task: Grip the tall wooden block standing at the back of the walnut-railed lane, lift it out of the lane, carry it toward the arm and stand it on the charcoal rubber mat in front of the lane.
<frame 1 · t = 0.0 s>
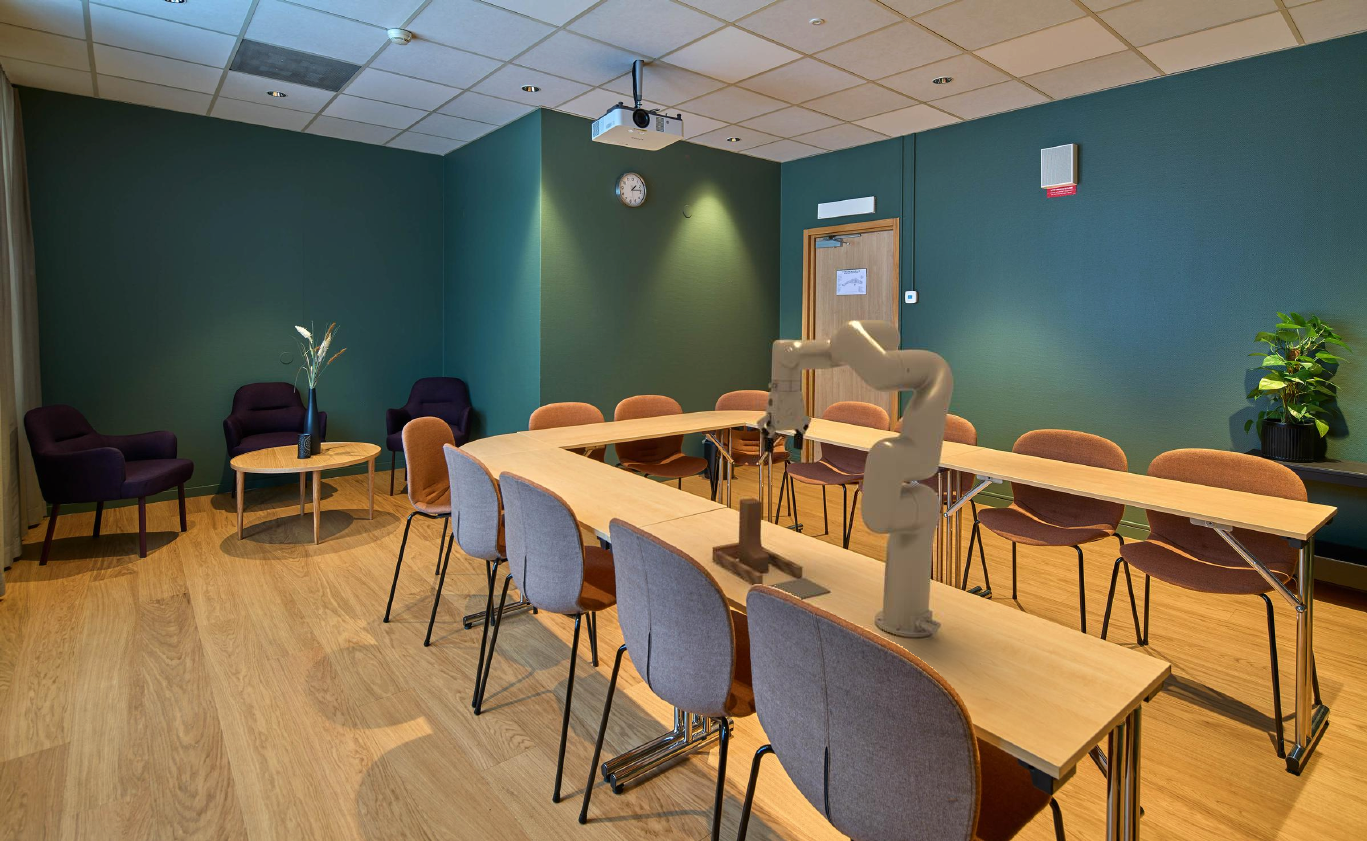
hand: (783, 450, 189), 31 cm above the table, tool pointing down, fingers open, 9 cm apart
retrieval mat: (794, 590, 173), on the table
wooden block: (753, 568, 189), on the table
lane: (757, 570, 187), on the table
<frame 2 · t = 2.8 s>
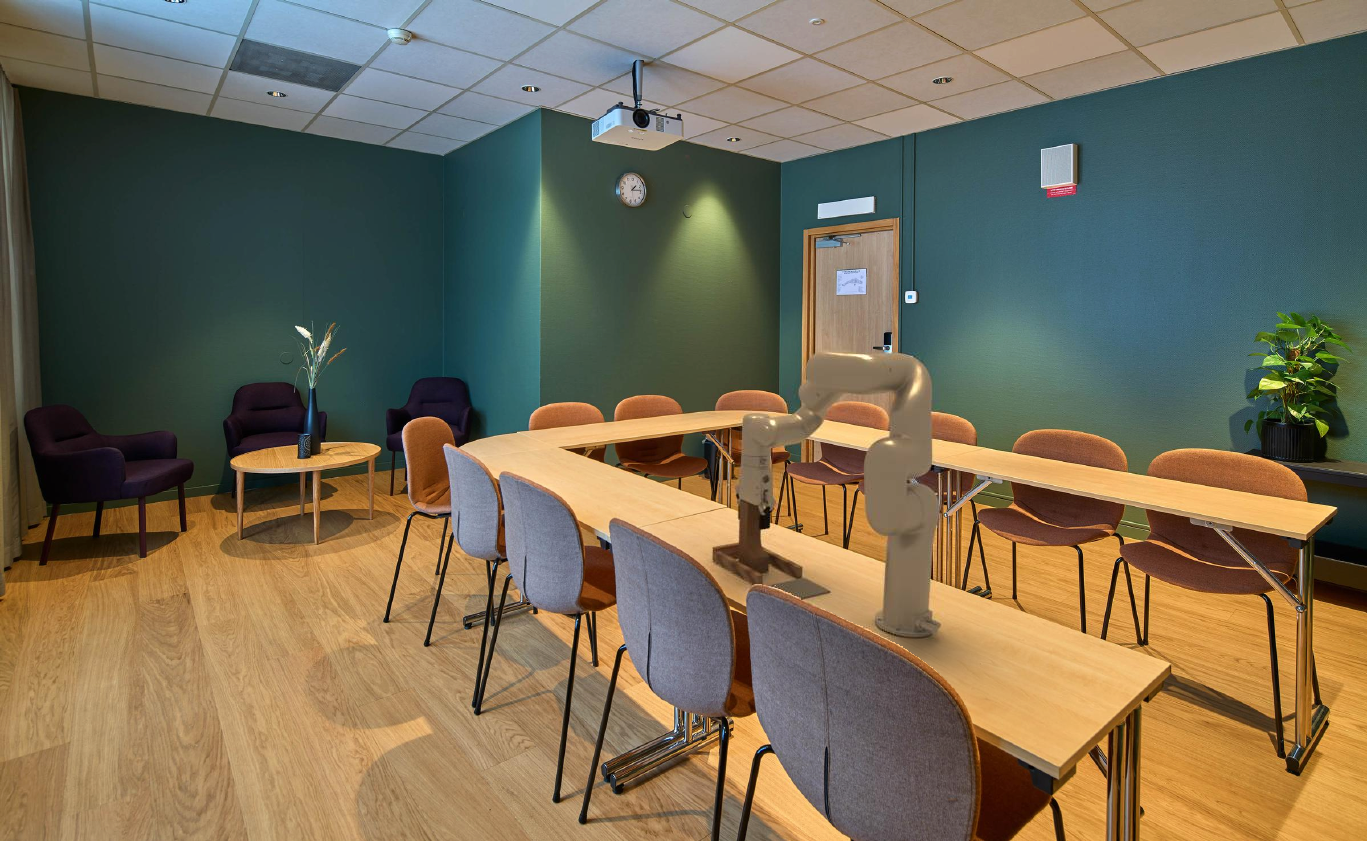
hand: (753, 523, 187), 12 cm above the table, tool pointing down, fingers open, 9 cm apart
nothing on the table moved.
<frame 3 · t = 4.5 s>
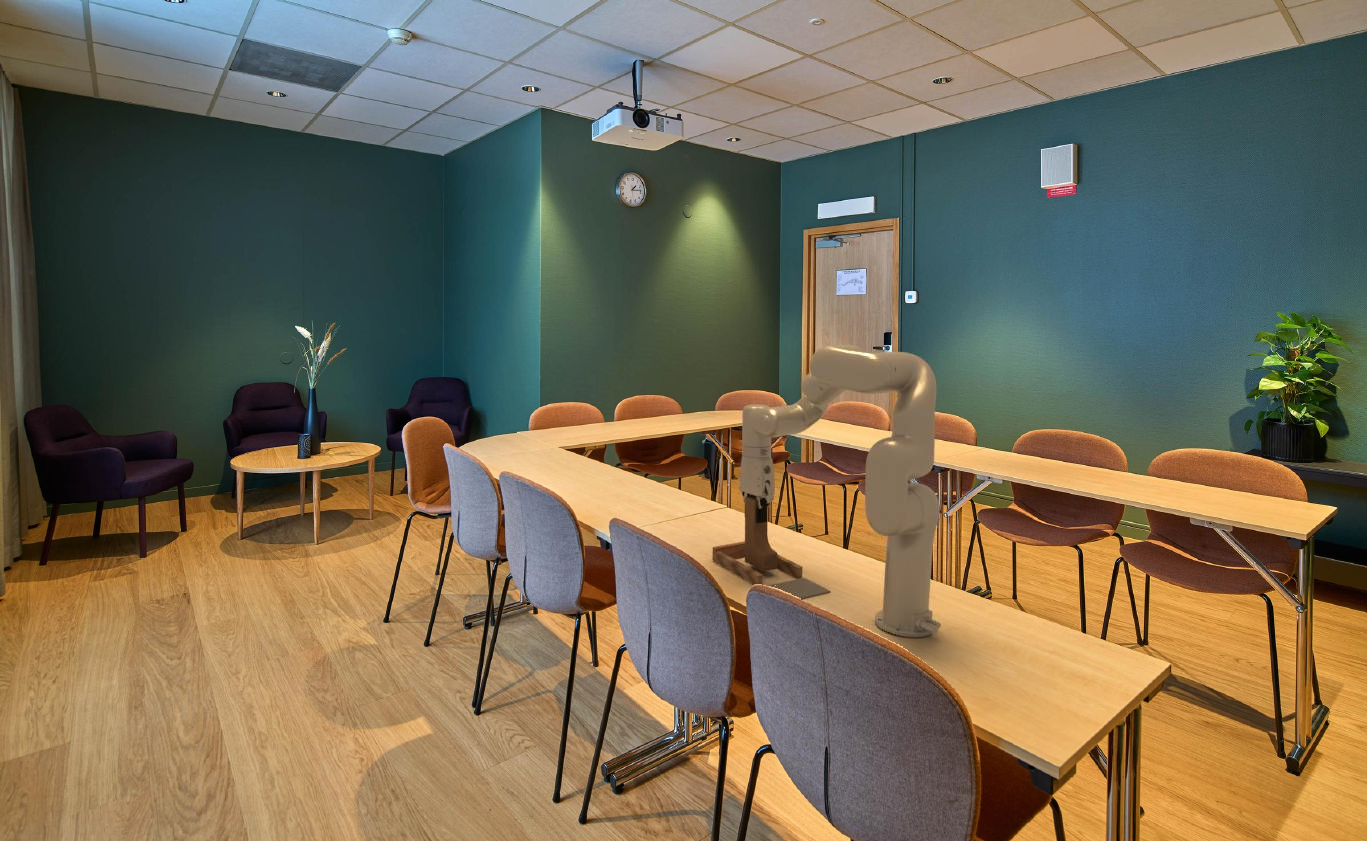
hand: (755, 519, 187), 14 cm above the table, tool pointing down, fingers closed on wooden block, 4 cm apart
wooden block: (760, 566, 186), point 1 cm above the table, touching gripper
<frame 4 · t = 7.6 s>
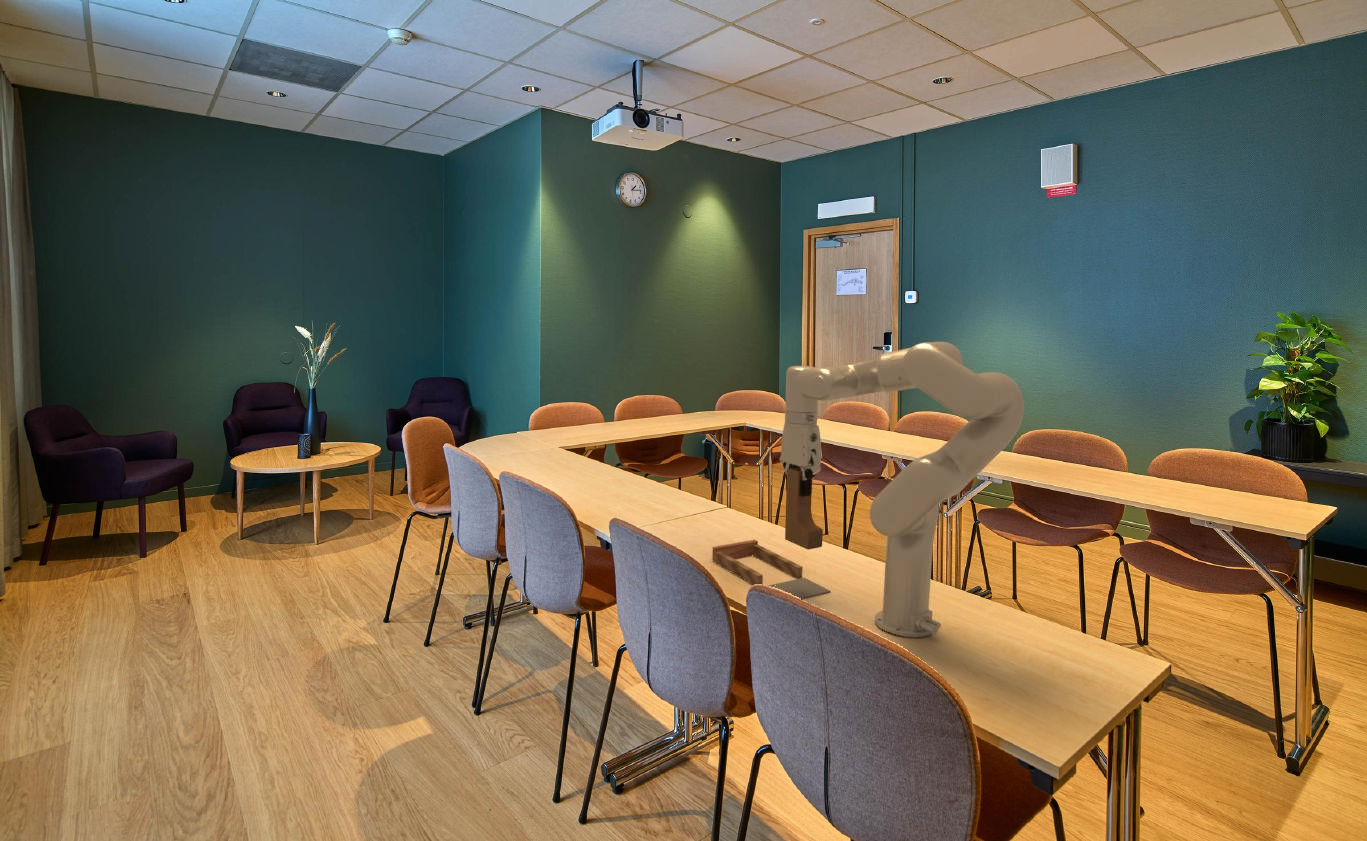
hand: (798, 492, 170), 25 cm above the table, tool pointing down, fingers closed on wooden block, 4 cm apart
wooden block: (803, 544, 170), point 12 cm above the table, touching gripper
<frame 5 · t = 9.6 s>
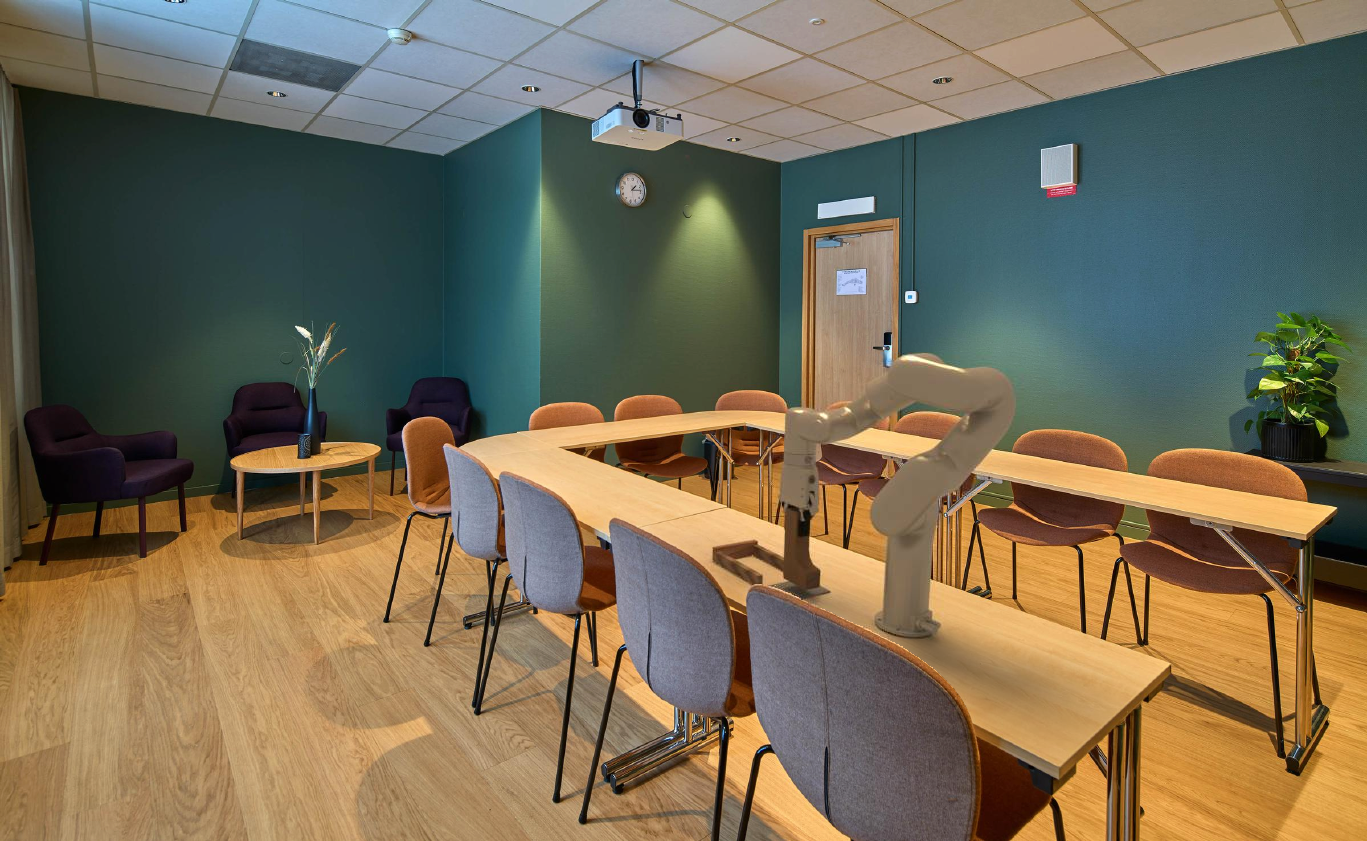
hand: (796, 532, 171), 15 cm above the table, tool pointing down, fingers closed on wooden block, 4 cm apart
wooden block: (801, 583, 171), point 3 cm above the table, touching gripper
when the fingers open (13 cm above the table, at t = 10.8 s): wooden block stays where it is, resting on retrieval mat.
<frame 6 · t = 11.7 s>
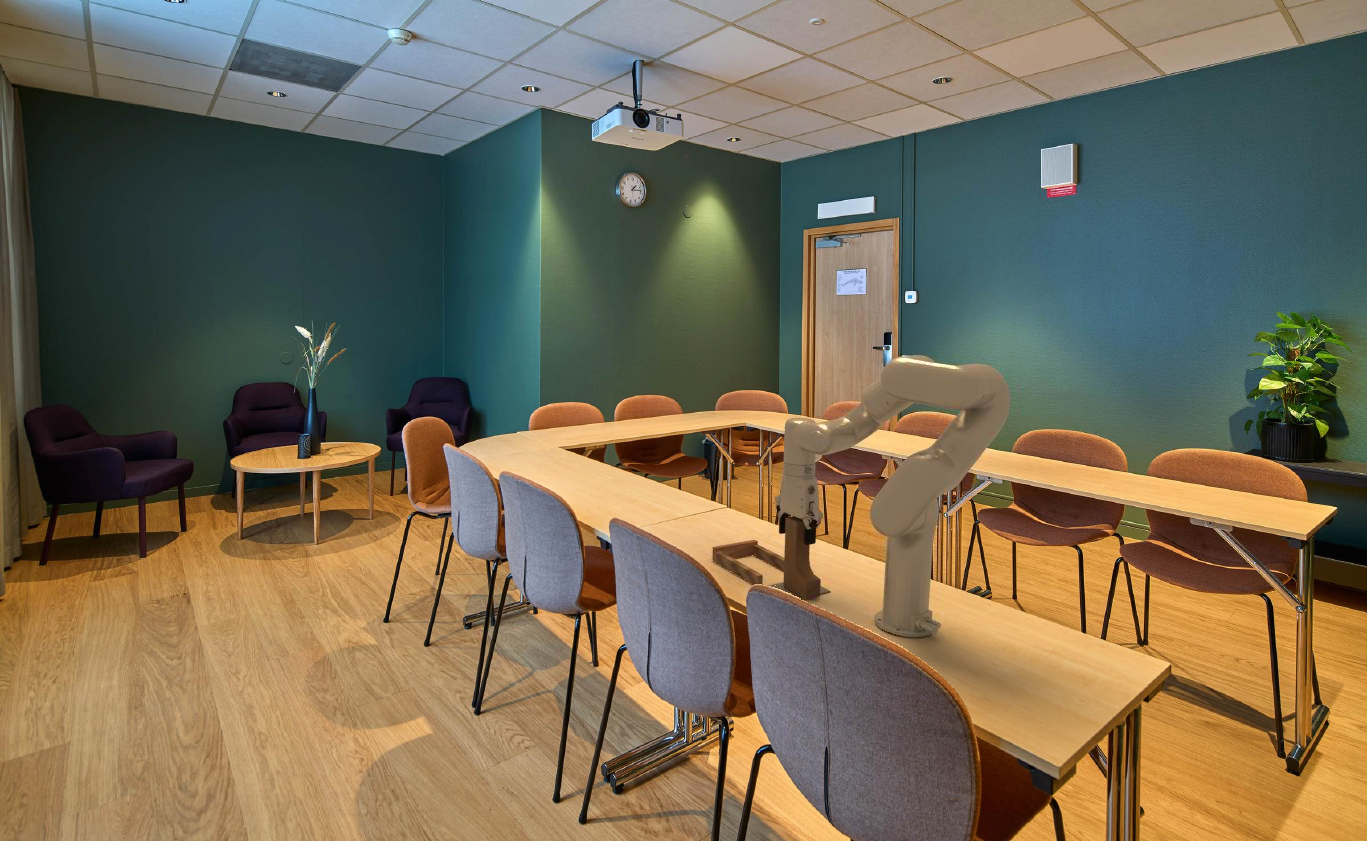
hand: (796, 538, 172), 13 cm above the table, tool pointing down, fingers open, 9 cm apart
wooden block: (801, 593, 172), resting on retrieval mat
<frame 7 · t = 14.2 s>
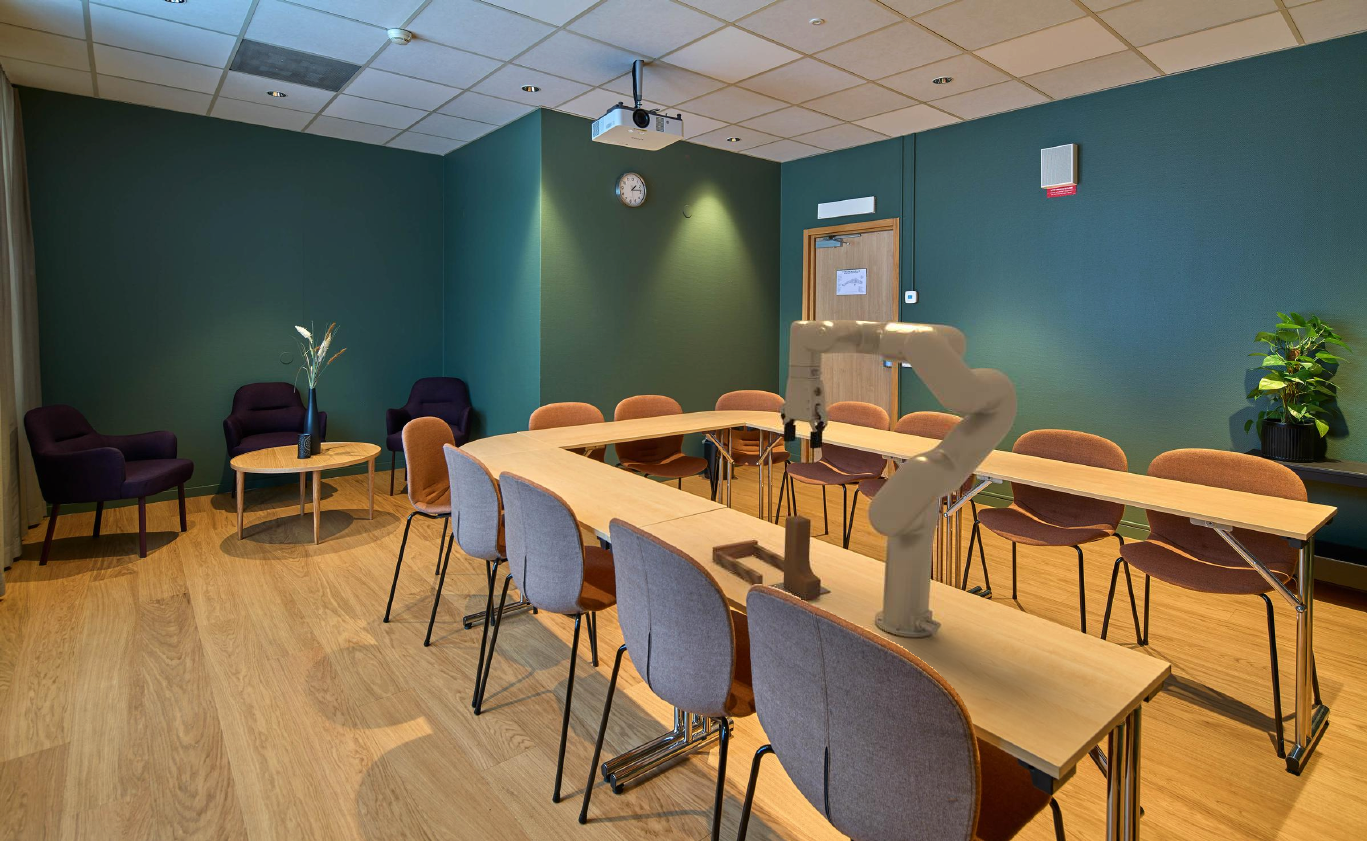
hand: (802, 444, 169), 36 cm above the table, tool pointing down, fingers open, 9 cm apart
nothing on the table moved.
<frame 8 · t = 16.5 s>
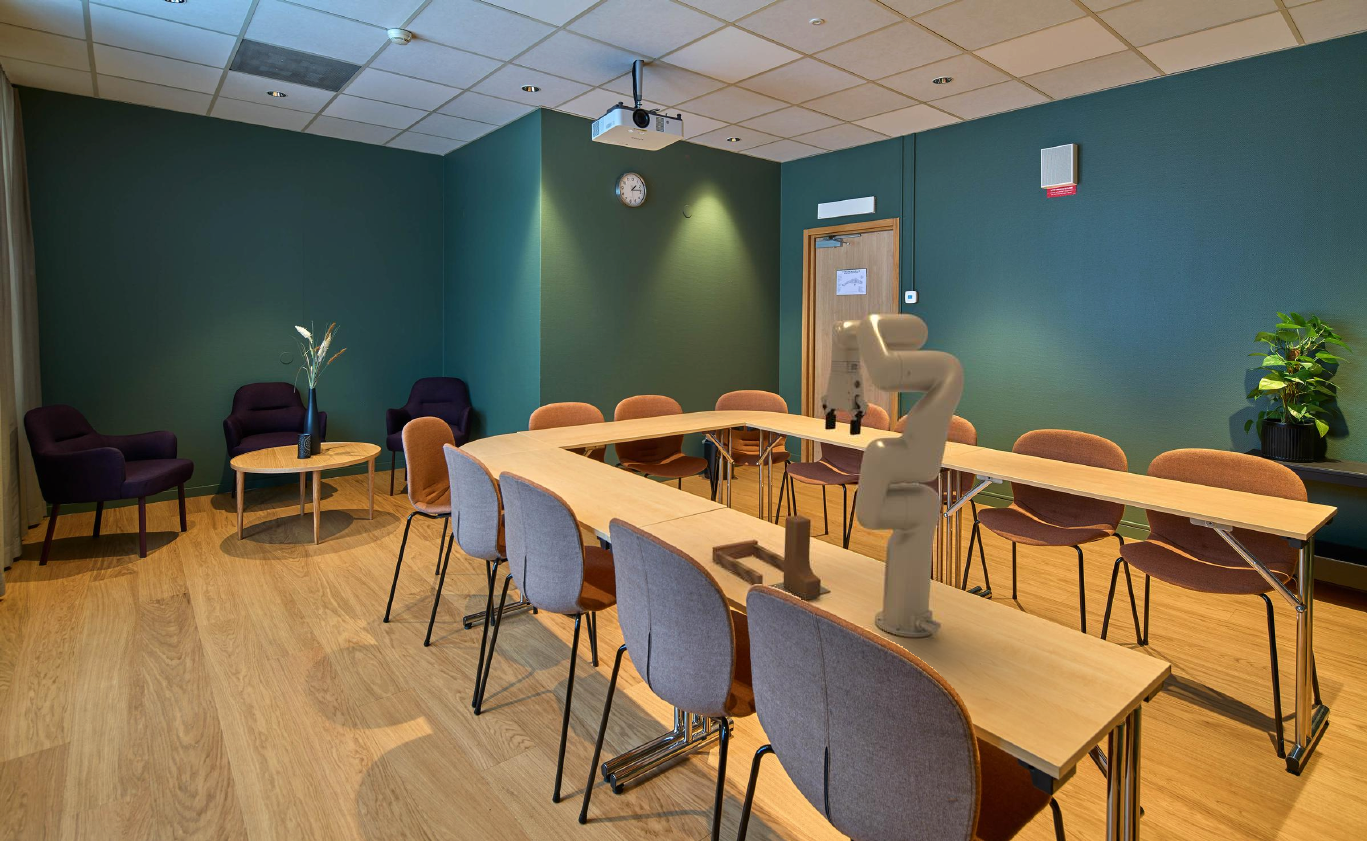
hand: (842, 431, 189), 36 cm above the table, tool pointing down, fingers open, 9 cm apart
nothing on the table moved.
at the end: wooden block inside the target area (2.1 cm from its centre), on the table; wooden block tilted 0°; the gripper is holding nothing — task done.
